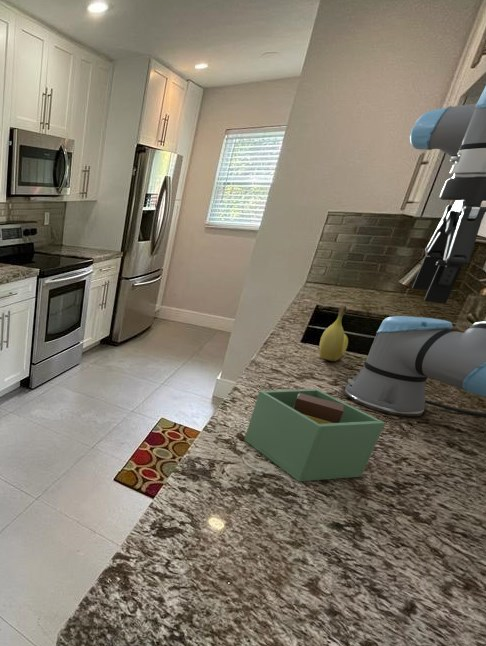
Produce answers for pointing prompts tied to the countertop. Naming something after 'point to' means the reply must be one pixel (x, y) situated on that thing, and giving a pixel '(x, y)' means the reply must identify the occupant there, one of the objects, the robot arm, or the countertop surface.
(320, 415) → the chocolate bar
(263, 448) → the trash bin
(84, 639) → the countertop surface
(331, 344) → the banana
